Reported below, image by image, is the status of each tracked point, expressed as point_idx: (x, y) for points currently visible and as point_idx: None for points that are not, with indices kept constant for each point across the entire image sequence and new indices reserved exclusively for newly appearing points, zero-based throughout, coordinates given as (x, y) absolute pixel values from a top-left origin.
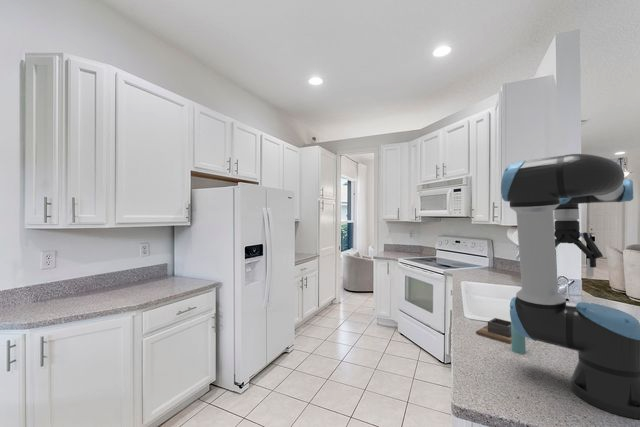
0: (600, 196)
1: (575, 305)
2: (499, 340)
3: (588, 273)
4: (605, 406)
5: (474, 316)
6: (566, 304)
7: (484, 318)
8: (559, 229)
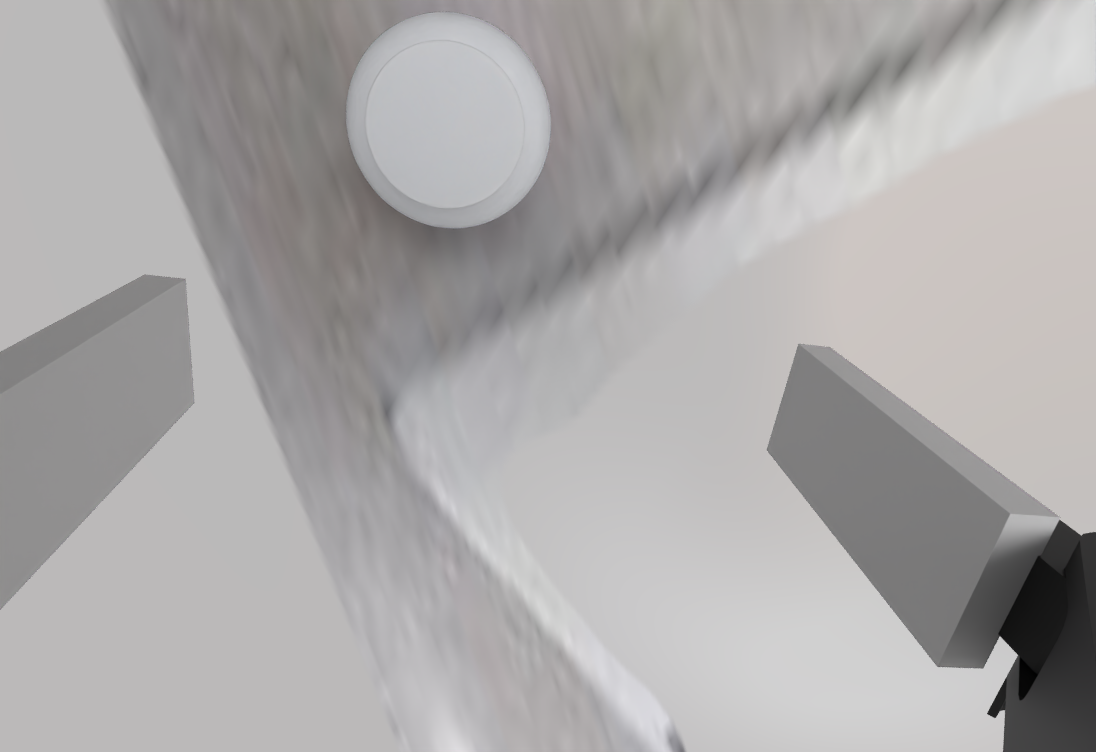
0: None
1: (393, 111)
2: None
3: (138, 290)
4: None
5: (1092, 55)
6: (460, 74)
7: (1018, 80)
8: None
